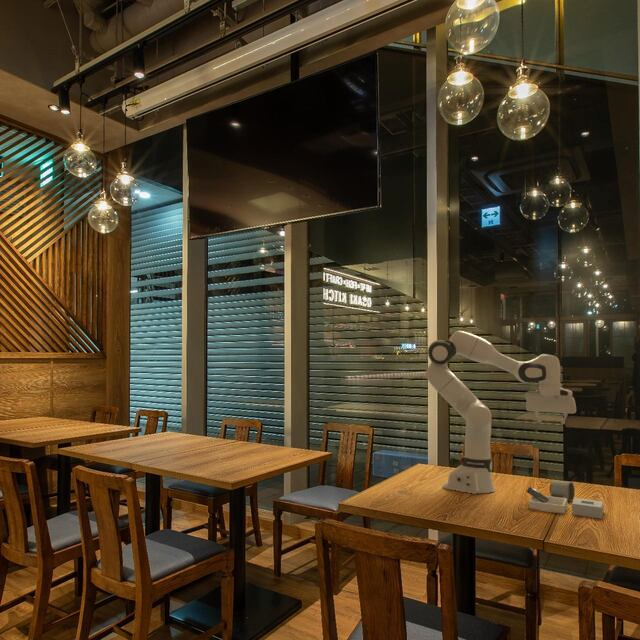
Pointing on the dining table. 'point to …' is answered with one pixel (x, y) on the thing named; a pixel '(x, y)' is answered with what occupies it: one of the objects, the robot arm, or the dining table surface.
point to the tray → (549, 505)
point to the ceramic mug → (562, 490)
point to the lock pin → (537, 495)
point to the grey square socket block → (587, 508)
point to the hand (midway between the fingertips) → (551, 422)
